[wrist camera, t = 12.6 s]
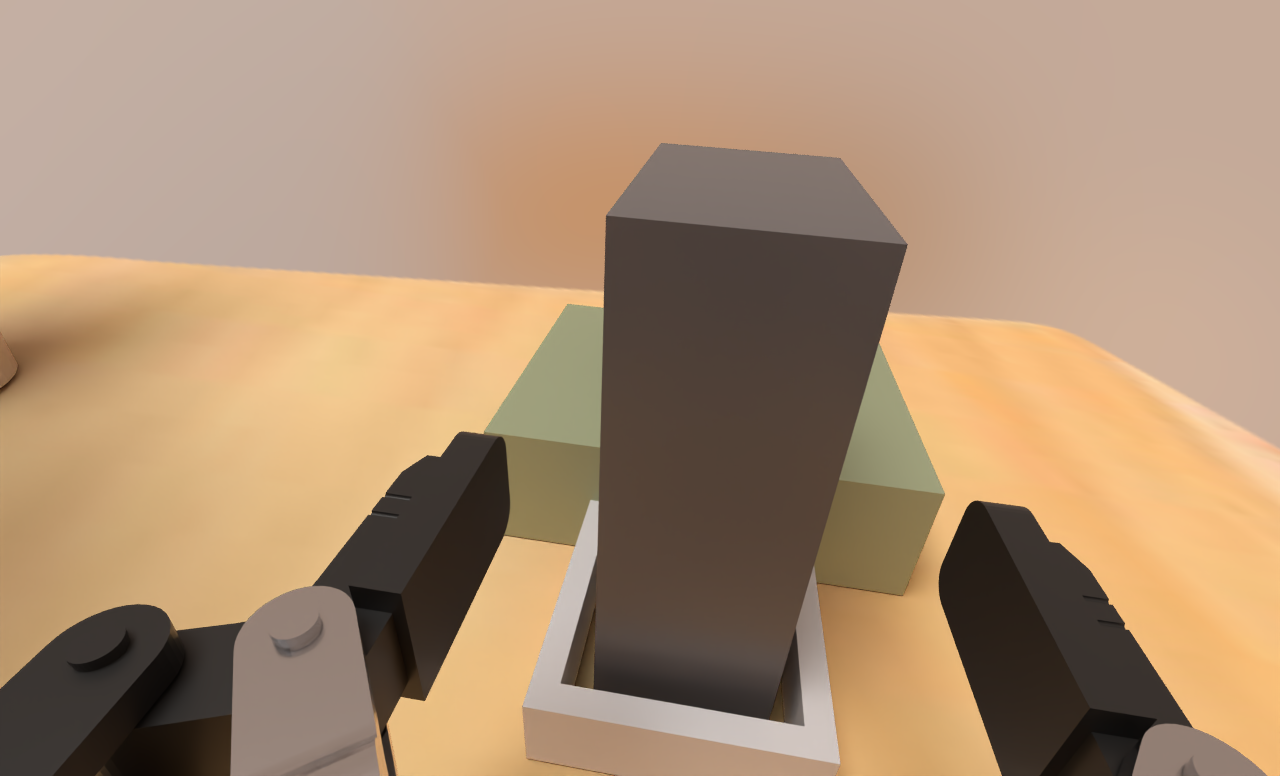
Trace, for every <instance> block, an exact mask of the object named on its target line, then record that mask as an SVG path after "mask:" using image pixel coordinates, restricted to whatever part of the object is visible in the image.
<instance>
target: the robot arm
mask: <svg viewBox="0 0 1280 776" xmlns="http://www.w3.org/2000/svg"><path fill="white" fill-rule="evenodd" d="M17 367H18V364H17V362H16V360H15V358H14V356H13V355H12V353H11V351H10V349H9V347H8V345H7V343H6V342H5V340H4V338H3V336H2V334H1V332H0V388H1V387H2V386H4V385H5V384H6V383H8V382H9V381H10V380H11V378H12V377H13V376H14V375H15V374H16V371H17ZM509 514H510V491H509V478H508V465H507V452H506V443H505V440H504V438H503V437H501V436H493V435H486V434H478V433H471V432H459V433H458V434H457V435H456V436H455V438H454V439H453V440H452V442H451V443H450V445H449V446H448V447H447V449H446V450H445V452H444V453H443V454H442V456H441V457H436V456H429V455H427V456H426V457H424V458H422V459H421V460H419V461H418V462H416V463H415V464H413V465H412V466H410V467H409V468H407V469H406V470H404V471H403V472H402V473H401V474H400V475H399V476H398V478H397V479H396V480H395V482H394V483H393V484H392V485H391V487H390V488H389V489H388V490H387V492H386V495H385V497H382V498H381V499H380V501H379V502H378V503H377V504H376V506H375V507H374V508H373V510H372V514H371V515H368V516H367V517H366V519H365V520H364V521H363V522H362V524H361V525H360V526H359V527H358V529H357V530H356V531H355V533H354V534H353V535H352V536H351V538H350V539H349V540H348V541H347V543H346V544H345V545H344V547H343V548H342V549H341V550H340V552H339V553H338V554H337V556H336V557H335V558H334V559H333V561H332V562H331V563H330V564H329V566H328V567H327V568H326V570H325V571H324V572H323V573H322V575H321V576H320V577H319V578H318V580H317V581H316V582H315V583H314V584H313V586H310V587H304V588H300V589H296V590H293V591H290V592H287V593H285V594H282V595H280V596H278V597H276V598H274V599H273V600H271V601H269V602H268V603H266V604H265V605H263V606H262V607H261V608H260V609H258V610H257V611H256V612H255V613H254V614H253V615H252V616H251V617H250V618H249V619H248V620H247V621H246V622H241V623H235V624H227V625H219V626H211V627H202V628H194V629H186V630H178V631H176V630H175V628H174V626H173V624H172V622H171V621H170V619H169V617H168V615H167V614H166V613H165V612H164V611H163V610H162V609H159V608H157V607H155V606H150V605H140V604H136V605H126V606H121V607H117V608H113V609H110V610H106V611H103V612H101V613H98V614H96V615H93V616H91V617H89V618H87V619H85V620H83V621H81V622H79V623H77V624H75V625H74V626H72V627H70V628H69V629H67V630H66V631H64V632H63V633H62V634H60V635H59V636H57V637H56V638H55V639H54V640H53V641H51V642H50V643H49V644H48V645H47V646H46V647H45V648H44V649H42V650H41V651H40V652H39V653H38V654H37V655H36V656H35V657H34V658H33V659H32V660H31V661H30V662H29V663H27V664H26V665H25V666H24V667H23V668H22V669H21V670H20V671H19V672H18V673H17V674H16V675H15V676H14V677H12V678H11V679H10V680H9V681H8V682H7V683H6V684H5V685H4V686H3V687H2V688H1V689H0V776H398V772H397V766H396V761H395V756H394V751H393V746H392V741H391V735H390V730H389V726H388V720H389V718H390V716H391V714H392V712H393V710H394V708H395V706H396V705H397V703H398V701H399V699H400V697H405V698H411V699H416V700H422V701H425V700H426V697H427V695H428V693H429V691H430V689H431V687H432V685H433V683H434V681H435V679H436V677H437V674H438V672H439V670H440V668H441V666H442V664H443V662H444V660H445V658H446V656H447V654H448V651H449V649H450V647H451V645H452V643H453V641H454V639H455V637H456V635H457V633H458V631H459V628H460V626H461V624H462V622H463V620H464V618H465V616H466V614H467V612H468V610H469V608H470V605H471V603H472V601H473V599H474V597H475V595H476V593H477V591H478V589H479V587H480V585H481V583H482V580H483V578H484V576H485V574H486V572H487V570H488V568H489V566H490V564H491V562H492V560H493V557H494V555H495V553H496V551H497V549H498V547H499V545H500V543H501V541H502V539H503V536H504V534H505V531H506V528H507V524H508V520H509ZM939 595H940V600H941V604H942V607H943V610H944V613H945V615H946V618H947V621H948V624H949V627H950V630H951V632H952V635H953V638H954V641H955V644H956V647H957V649H958V652H959V655H960V658H961V661H962V664H963V666H964V669H965V672H966V675H967V678H968V681H969V683H970V686H971V689H972V692H973V695H974V698H975V700H976V703H977V706H978V709H979V712H980V715H981V717H982V720H983V723H984V726H985V729H986V732H987V734H988V737H989V740H990V743H991V746H992V749H993V751H994V754H995V757H996V760H997V763H998V766H999V768H1000V771H1001V774H1002V776H1267V775H1266V774H1265V773H1264V772H1263V771H1262V770H1261V769H1259V768H1258V767H1257V766H1256V765H1255V764H1254V763H1253V762H1251V761H1250V760H1249V759H1248V758H1246V757H1245V756H1244V755H1242V754H1241V753H1240V752H1238V751H1237V750H1235V749H1234V748H1232V747H1231V746H1229V745H1227V744H1226V743H1224V742H1222V741H1221V740H1219V739H1217V738H1215V737H1213V736H1211V735H1209V734H1207V733H1204V732H1202V731H1200V730H1197V729H1194V728H1193V727H1192V725H1191V724H1190V722H1189V721H1188V719H1187V718H1186V716H1185V715H1184V713H1183V712H1182V710H1181V709H1180V707H1179V706H1178V704H1177V703H1176V701H1175V699H1174V698H1173V696H1172V695H1171V693H1170V692H1169V690H1168V689H1167V687H1166V686H1165V684H1164V683H1163V681H1162V680H1161V678H1160V677H1159V675H1158V673H1157V672H1156V670H1155V669H1154V667H1153V666H1152V664H1151V663H1150V661H1149V660H1148V658H1147V657H1146V655H1145V654H1144V652H1143V651H1142V649H1141V647H1140V646H1139V644H1138V643H1137V641H1136V640H1135V638H1134V637H1133V635H1132V634H1131V632H1130V631H1129V630H1125V627H1124V625H1125V623H1124V621H1123V620H1122V618H1121V617H1120V615H1119V614H1118V612H1117V611H1116V609H1115V608H1114V606H1113V605H1109V603H1108V600H1109V599H1108V597H1107V596H1106V594H1105V592H1104V591H1103V589H1102V588H1101V586H1100V585H1099V583H1098V582H1097V580H1096V579H1095V577H1094V576H1093V574H1092V573H1091V571H1090V570H1089V569H1088V568H1087V567H1086V566H1085V565H1084V564H1082V563H1081V562H1080V561H1079V560H1078V559H1077V558H1076V557H1075V556H1073V555H1072V554H1071V553H1070V552H1069V551H1068V550H1067V549H1066V548H1064V547H1063V546H1062V545H1061V544H1060V543H1053V542H1049V540H1048V539H1047V537H1046V535H1045V534H1044V532H1043V530H1042V529H1041V527H1040V526H1039V524H1038V522H1037V521H1036V519H1035V517H1034V516H1033V514H1032V513H1031V511H1029V510H1028V509H1027V508H1025V507H1021V506H1014V505H1006V504H998V503H991V502H983V501H973V502H971V503H970V504H969V506H968V507H967V509H966V511H965V513H964V515H963V517H962V520H961V522H960V524H959V526H958V529H957V531H956V533H955V536H954V538H953V540H952V542H951V545H950V547H949V549H948V552H947V554H946V556H945V558H944V561H943V563H942V566H941V569H940V574H939Z"/></svg>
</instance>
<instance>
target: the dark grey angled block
mask: <svg viewBox="0 0 1280 776" xmlns="http://www.w3.org/2000/svg"><path fill="white" fill-rule="evenodd" d="M907 245H908V244H907V243H906V242H905V241H904V239H903V238H902V237H901V236H900V234H899V233H898V232H897V230H896V229H895V228H894V226H893V225H892V224H891V223H890V221H889V220H888V219H887V217H886V216H885V215H884V214H883V212H882V211H881V210H880V208H879V207H878V206H877V205H876V204H875V202H874V201H873V200H872V198H871V197H870V196H869V194H868V193H867V192H866V191H865V189H864V188H863V187H862V186H861V184H860V183H859V182H858V180H857V179H856V178H855V177H854V175H853V174H852V173H851V171H850V170H849V169H848V167H847V166H846V165H845V164H844V162H843V161H842V160H841V159H840V158H832V157H821V156H809V155H797V154H785V153H772V152H761V151H749V150H737V149H725V148H713V147H702V146H689V145H678V144H665V143H661V144H660V145H659V147H658V148H657V149H656V151H655V152H654V153H653V155H652V156H651V157H650V159H649V160H648V161H647V162H646V164H645V165H644V166H643V168H642V169H641V170H640V172H639V173H638V174H637V176H636V177H635V178H634V180H633V181H632V182H631V183H630V185H629V186H628V187H627V189H626V190H625V191H624V193H623V194H622V195H621V197H620V198H619V199H618V201H617V202H616V203H615V205H614V206H613V207H612V208H611V210H610V211H609V212H608V214H607V215H606V239H605V277H604V278H605V279H604V316H603V354H602V393H601V431H600V469H599V508H598V546H597V584H596V623H595V661H594V689H595V690H600V691H606V692H612V693H617V694H623V695H629V696H634V697H640V698H646V699H651V700H657V701H663V702H668V703H674V704H680V705H685V706H691V707H697V708H702V709H708V710H714V711H719V712H725V713H731V714H736V715H742V716H748V717H753V718H759V719H765V720H769V718H770V714H771V711H772V707H773V704H774V701H775V697H776V694H777V690H778V687H779V683H780V680H781V677H782V673H783V670H784V666H785V663H786V659H787V656H788V653H789V649H790V646H791V642H792V639H793V635H794V632H795V629H796V625H797V622H798V618H799V615H800V612H801V608H802V605H803V601H804V598H805V594H806V591H807V588H808V584H809V581H810V577H811V574H812V570H813V567H814V564H815V560H816V557H817V553H818V550H819V546H820V543H821V540H822V536H823V533H824V529H825V526H826V523H827V519H828V516H829V512H830V509H831V505H832V502H833V499H834V495H835V492H836V488H837V485H838V481H839V478H840V475H841V471H842V468H843V464H844V461H845V457H846V454H847V451H848V447H849V444H850V440H851V437H852V433H853V430H854V427H855V423H856V420H857V416H858V413H859V410H860V406H861V403H862V399H863V396H864V392H865V389H866V386H867V382H868V379H869V375H870V372H871V368H872V365H873V362H874V358H875V355H876V351H877V348H878V344H879V341H880V338H881V334H882V331H883V327H884V324H885V321H886V317H887V314H888V310H889V307H890V303H891V300H892V296H893V293H894V290H895V286H896V283H897V279H898V276H899V273H900V269H901V266H902V262H903V259H904V255H905V252H906V249H907Z"/></svg>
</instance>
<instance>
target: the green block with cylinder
mask: <svg viewBox="0 0 1280 776" xmlns="http://www.w3.org/2000/svg"><path fill="white" fill-rule="evenodd" d="M603 316H604V308H599V307H590V306H581V305H572V304H567V306H566V307H565V309H564V310H563V312H562V313H561V315H560V316H559V318H558V319H557V321H556V322H555V324H554V326H553V327H552V329H551V330H550V332H549V333H548V335H547V336H546V338H545V339H544V341H543V342H542V344H541V345H540V347H539V348H538V350H537V351H536V353H535V355H534V356H533V358H532V359H531V361H530V362H529V364H528V365H527V367H526V368H525V370H524V371H523V373H522V374H521V376H520V377H519V379H518V381H517V382H516V384H515V385H514V387H513V388H512V390H511V391H510V393H509V394H508V396H507V397H506V399H505V400H504V402H503V403H502V405H501V406H500V408H499V410H498V411H497V413H496V414H495V416H494V417H493V419H492V420H491V422H490V423H489V425H488V426H487V428H486V429H485V431H484V434H486V435H493V436H501V437H503V438H504V440H505V443H506V452H507V465H508V478H509V491H510V514H509V520H508V524H507V528H506V531H505V534H504V535H509V536H515V537H522V538H529V539H535V540H542V541H548V542H555V543H561V544H568V545H574V546H575V548H574V551H573V554H572V558H571V561H570V564H569V567H568V570H567V573H566V576H565V579H564V582H563V585H562V588H561V591H560V594H559V597H558V600H557V603H556V606H555V609H554V612H553V615H552V618H551V621H550V624H549V627H548V630H547V633H546V636H545V639H544V642H543V645H542V648H541V651H540V654H539V658H538V661H537V664H536V667H535V670H534V673H533V676H532V679H531V682H530V685H529V688H528V691H527V694H526V697H525V700H524V703H523V706H522V709H523V721H524V734H525V746H526V758H528V759H533V760H539V761H544V762H549V763H554V764H560V765H565V766H570V767H575V768H581V769H586V770H591V771H596V772H602V773H607V774H612V775H617V776H836V774H837V771H838V769H839V767H840V757H839V749H838V742H837V734H836V727H835V719H834V712H833V704H832V696H831V689H830V681H829V674H828V666H827V659H826V651H825V643H824V636H823V628H822V621H821V613H820V605H819V598H818V590H817V583H823V584H830V585H836V586H843V587H850V588H856V589H863V590H869V591H876V592H882V593H889V594H895V595H902V596H903V594H904V592H905V589H906V587H907V585H908V582H909V580H910V577H911V575H912V573H913V570H914V568H915V565H916V563H917V561H918V558H919V556H920V553H921V551H922V549H923V546H924V544H925V541H926V539H927V537H928V534H929V532H930V529H931V527H932V525H933V522H934V520H935V517H936V515H937V512H938V510H939V508H940V505H941V503H942V500H943V498H944V496H945V493H944V491H943V488H942V486H941V484H940V482H939V479H938V477H937V475H936V472H935V470H934V468H933V465H932V463H931V461H930V459H929V456H928V454H927V452H926V449H925V447H924V445H923V443H922V440H921V438H920V436H919V433H918V431H917V429H916V427H915V424H914V422H913V420H912V417H911V415H910V413H909V411H908V408H907V406H906V404H905V401H904V399H903V397H902V395H901V392H900V390H899V388H898V385H897V383H896V381H895V378H894V376H893V374H892V372H891V369H890V367H889V365H888V362H887V360H886V358H885V356H884V353H883V351H882V349H881V346H880V344H878V348H877V351H876V355H875V358H874V362H873V365H872V368H871V372H870V375H869V379H868V382H867V386H866V389H865V392H864V396H863V399H862V403H861V406H860V410H859V413H858V416H857V420H856V423H855V427H854V430H853V433H852V437H851V440H850V444H849V447H848V451H847V454H846V457H845V461H844V464H843V468H842V471H841V475H840V478H839V481H838V485H837V488H836V492H835V495H834V499H833V502H832V505H831V509H830V512H829V516H828V519H827V523H826V526H825V529H824V533H823V536H822V540H821V543H820V546H819V550H818V553H817V557H816V560H815V564H814V567H813V570H812V574H811V577H810V581H809V584H808V588H807V591H806V594H805V598H804V601H803V605H802V608H801V612H800V615H799V618H798V622H797V625H796V629H795V632H794V635H793V639H792V642H791V646H790V649H789V653H788V656H787V659H786V663H785V666H784V670H783V673H782V677H781V678H782V696H783V713H784V723H782V722H776V721H770V720H765V719H759V718H753V717H748V716H742V715H736V714H731V713H725V712H719V711H714V710H708V709H702V708H697V707H691V706H685V705H680V704H674V703H668V702H663V701H657V700H651V699H646V698H640V697H634V696H629V695H623V694H617V693H612V692H606V691H600V690H595V689H589V688H583V687H578V686H574V685H575V681H576V678H577V674H578V670H579V666H580V662H581V658H582V655H583V651H584V647H585V643H586V639H587V635H588V632H589V628H590V624H591V620H592V616H593V612H594V609H595V605H596V584H597V546H598V508H599V469H600V431H601V393H602V354H603ZM816 582H817V583H816Z"/></svg>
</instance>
